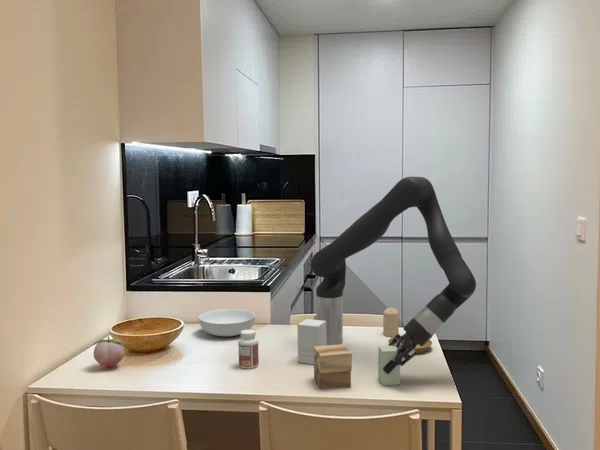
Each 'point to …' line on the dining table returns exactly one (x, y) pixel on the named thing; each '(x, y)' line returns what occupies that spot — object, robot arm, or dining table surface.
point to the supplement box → (310, 338)
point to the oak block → (332, 358)
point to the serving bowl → (226, 321)
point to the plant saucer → (418, 346)
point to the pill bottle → (248, 349)
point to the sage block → (383, 358)
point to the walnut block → (332, 379)
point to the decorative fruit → (108, 352)
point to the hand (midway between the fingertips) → (382, 368)
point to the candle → (390, 322)
